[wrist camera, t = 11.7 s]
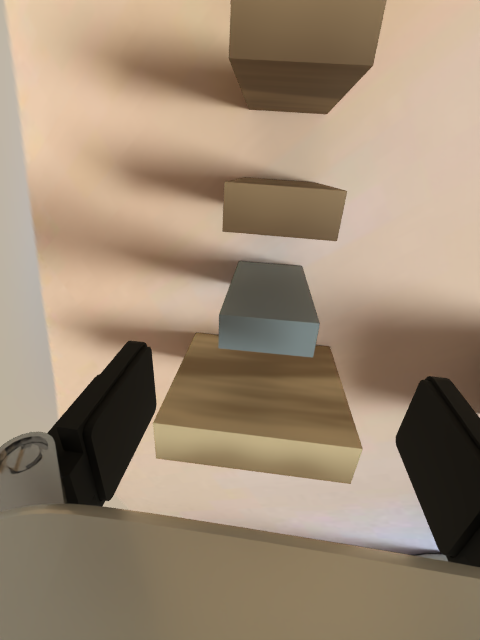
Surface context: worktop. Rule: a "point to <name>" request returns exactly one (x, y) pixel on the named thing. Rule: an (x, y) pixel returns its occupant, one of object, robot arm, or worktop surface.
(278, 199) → the domino
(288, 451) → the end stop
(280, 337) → the domino
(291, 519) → the worktop surface
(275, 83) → the domino
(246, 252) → the worktop surface
